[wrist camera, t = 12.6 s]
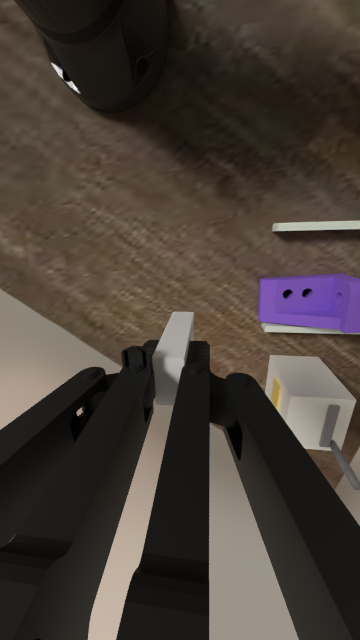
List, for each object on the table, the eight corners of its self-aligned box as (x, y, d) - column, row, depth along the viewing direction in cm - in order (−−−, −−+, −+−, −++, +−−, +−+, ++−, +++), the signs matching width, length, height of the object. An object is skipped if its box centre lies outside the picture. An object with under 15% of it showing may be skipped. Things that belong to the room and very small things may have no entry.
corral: (273, 223, 33) (277, 223, 31) (386, 220, 31) (401, 219, 29) (261, 326, 39) (265, 331, 36) (357, 328, 37) (367, 334, 34)
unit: (268, 354, 40) (306, 432, 24) (318, 356, 39) (391, 439, 23) (263, 396, 43) (293, 489, 28) (309, 399, 42) (368, 497, 27)
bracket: (341, 273, 34) (371, 282, 28) (334, 315, 37) (360, 332, 30) (259, 278, 36) (269, 287, 30) (257, 318, 39) (267, 335, 32)
